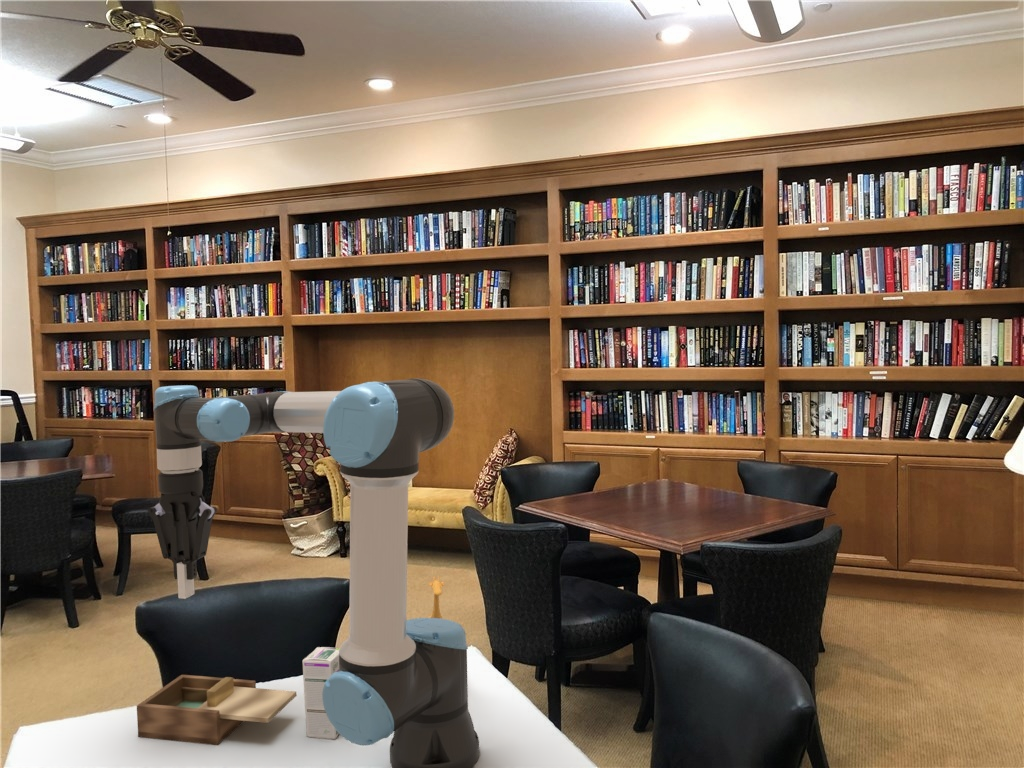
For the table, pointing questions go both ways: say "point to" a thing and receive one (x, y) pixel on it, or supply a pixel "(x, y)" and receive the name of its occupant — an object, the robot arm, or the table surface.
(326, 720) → the syrup box
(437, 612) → the giraffe
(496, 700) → the table surface
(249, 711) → the cover plate
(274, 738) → the table surface
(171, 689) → the walnut box
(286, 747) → the table surface
